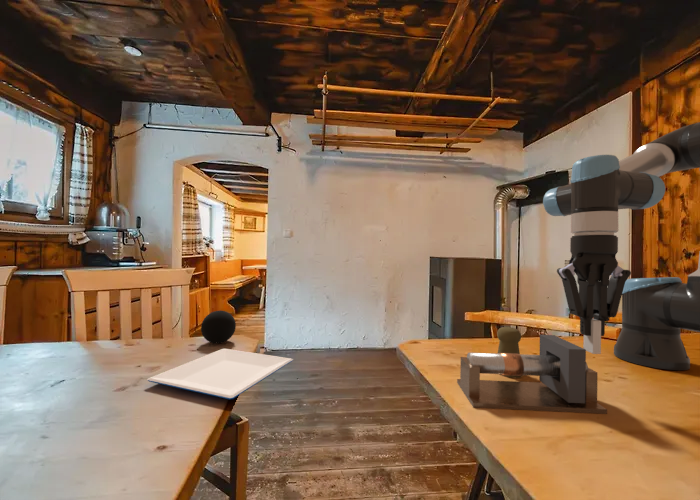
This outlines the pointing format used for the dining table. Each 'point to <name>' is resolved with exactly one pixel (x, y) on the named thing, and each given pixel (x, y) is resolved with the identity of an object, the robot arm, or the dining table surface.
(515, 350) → the cork
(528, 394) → the pipe rig
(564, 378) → the collar
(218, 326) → the decorative ball
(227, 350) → the plate
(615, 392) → the dining table surface
